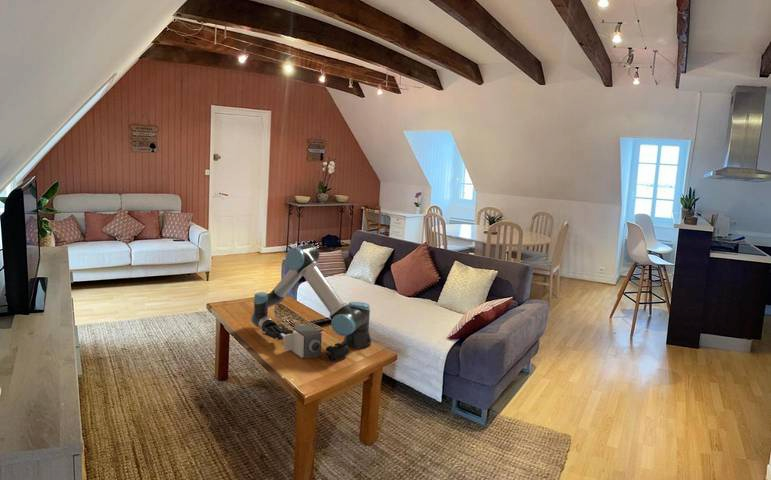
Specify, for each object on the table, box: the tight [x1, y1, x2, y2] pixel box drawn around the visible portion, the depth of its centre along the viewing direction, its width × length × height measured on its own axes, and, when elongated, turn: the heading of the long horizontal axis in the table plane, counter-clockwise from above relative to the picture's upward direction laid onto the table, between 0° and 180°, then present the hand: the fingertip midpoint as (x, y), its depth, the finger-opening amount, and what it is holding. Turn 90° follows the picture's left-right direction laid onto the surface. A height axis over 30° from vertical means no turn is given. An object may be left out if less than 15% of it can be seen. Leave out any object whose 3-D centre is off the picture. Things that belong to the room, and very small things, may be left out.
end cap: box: [325, 342, 350, 362], centre depth 248 cm, size 10×7×7 cm
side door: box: [283, 329, 304, 358], centre depth 247 cm, size 6×10×11 cm, turn 38°
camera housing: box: [292, 324, 323, 360], centre depth 251 cm, size 9×16×12 cm, turn 38°
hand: (287, 340), depth 250 cm, fingers closed
